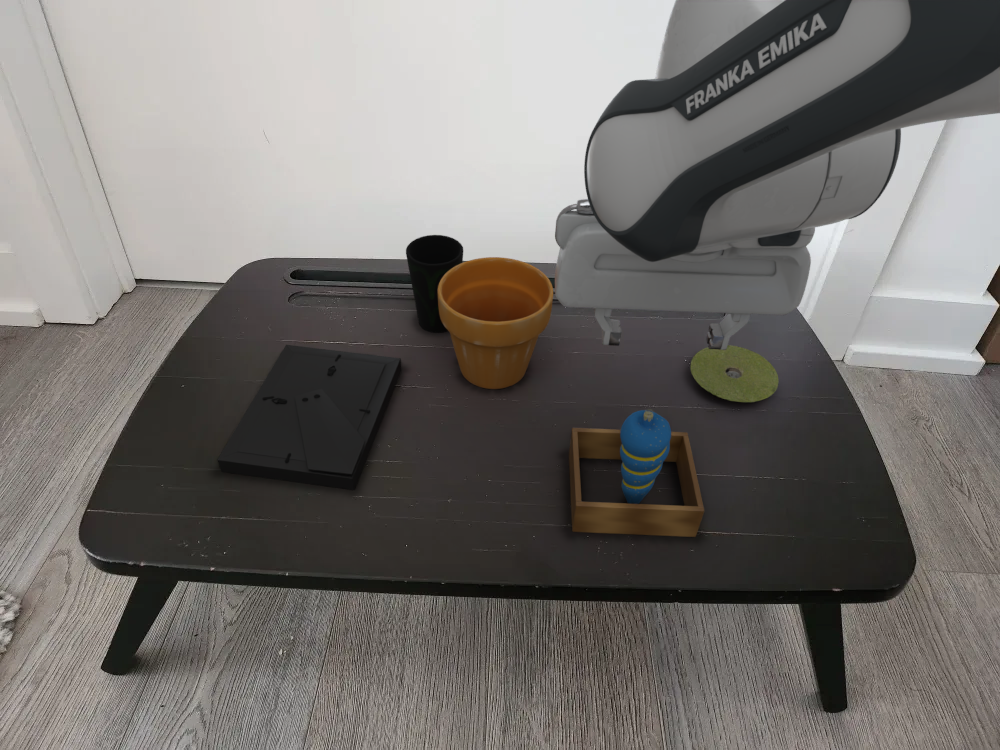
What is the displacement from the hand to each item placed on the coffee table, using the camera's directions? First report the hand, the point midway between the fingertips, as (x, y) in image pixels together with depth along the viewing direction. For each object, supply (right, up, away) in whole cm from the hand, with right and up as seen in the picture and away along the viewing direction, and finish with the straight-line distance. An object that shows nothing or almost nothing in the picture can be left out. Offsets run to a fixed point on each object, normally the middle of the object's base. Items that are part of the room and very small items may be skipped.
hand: (662, 343), depth 65 cm
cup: (-23, +5, +40) cm, 47 cm away
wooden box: (0, -16, +17) cm, 23 cm away
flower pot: (-15, -2, +33) cm, 36 cm away
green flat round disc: (+16, -4, +31) cm, 35 cm away
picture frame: (-37, -8, +25) cm, 45 cm away
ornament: (0, -18, +16) cm, 23 cm away
